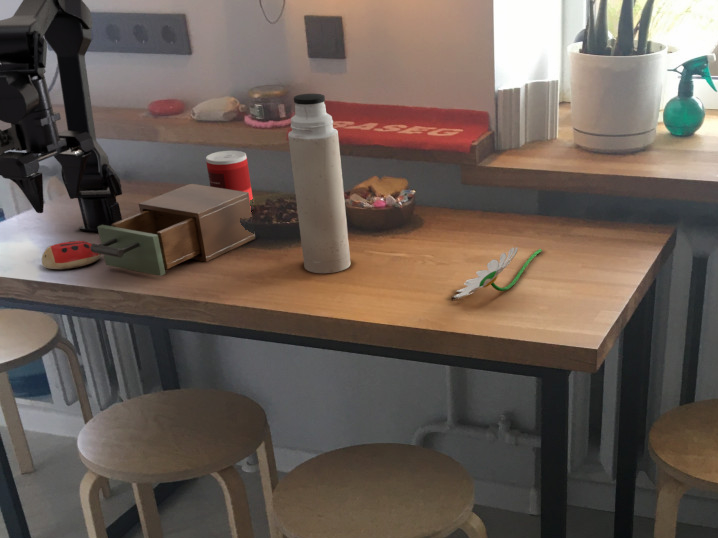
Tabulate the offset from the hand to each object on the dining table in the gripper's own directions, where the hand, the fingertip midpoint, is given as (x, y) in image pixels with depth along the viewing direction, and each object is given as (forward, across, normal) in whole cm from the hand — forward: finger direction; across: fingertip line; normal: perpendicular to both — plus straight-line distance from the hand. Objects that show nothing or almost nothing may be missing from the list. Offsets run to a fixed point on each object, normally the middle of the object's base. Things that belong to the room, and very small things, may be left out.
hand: (57, 204), depth 172 cm
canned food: (+11, -34, +13) cm, 38 cm away
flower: (+11, -12, +77) cm, 79 cm away
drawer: (+10, -1, +15) cm, 18 cm away
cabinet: (+10, -15, +17) cm, 25 cm away
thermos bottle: (+11, -11, +44) cm, 47 cm away
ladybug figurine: (+11, 0, 0) cm, 11 cm away
